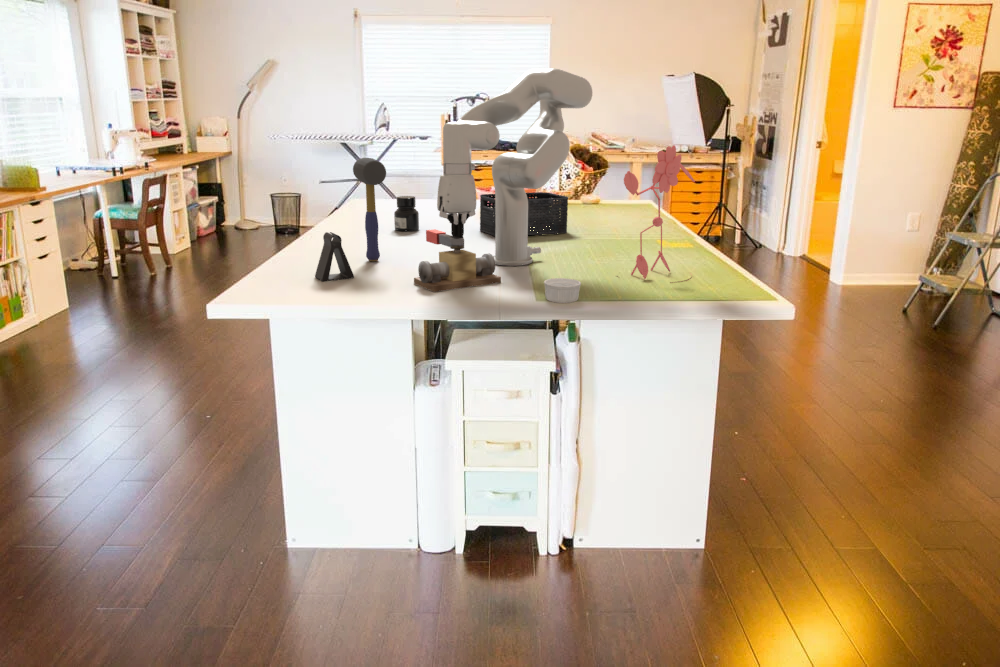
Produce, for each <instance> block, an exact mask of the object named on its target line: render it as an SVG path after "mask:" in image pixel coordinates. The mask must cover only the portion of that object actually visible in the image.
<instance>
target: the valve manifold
mask: <svg viewBox="0 0 1000 667" xmlns="http://www.w3.org/2000/svg"><path fill="white" fill-rule="evenodd" d="M438 256H439V257H438V262H433V263H432V262H431V263H430V262H429V261H428V260H424V261H423V260H422V261H420V262H419V264H418V270H417V272H418V276H417V277H413V283H414V285H417V286H419V287H421V288H423V289H426V290H429V291H431V292H433V293H436V292H437V293H438V292H445V291H449V290H458V289H464V288H471V287H478V286H487V285H493V284H500V283H501V282H502V276H500V275H497V274H495V270H496V264H495V260H494V257H493V256H494V255H493V254H491V253H489V252H488V253H483V254H482V255H481V257H477V254H476V253H475V252H471V251H469V250H466V249H452V250H446V251H445V250H443V251H439V252H438Z"/></svg>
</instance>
